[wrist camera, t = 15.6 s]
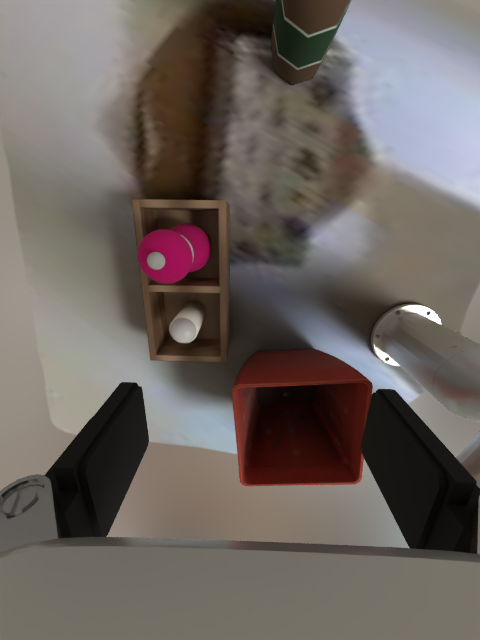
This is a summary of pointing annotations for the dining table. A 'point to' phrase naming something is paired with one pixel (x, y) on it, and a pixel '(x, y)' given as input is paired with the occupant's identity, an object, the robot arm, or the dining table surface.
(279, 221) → the dining table surface
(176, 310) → the caddy
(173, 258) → the pepper mill
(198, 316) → the salt shaker
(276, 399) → the plant pot
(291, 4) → the beer bottle
